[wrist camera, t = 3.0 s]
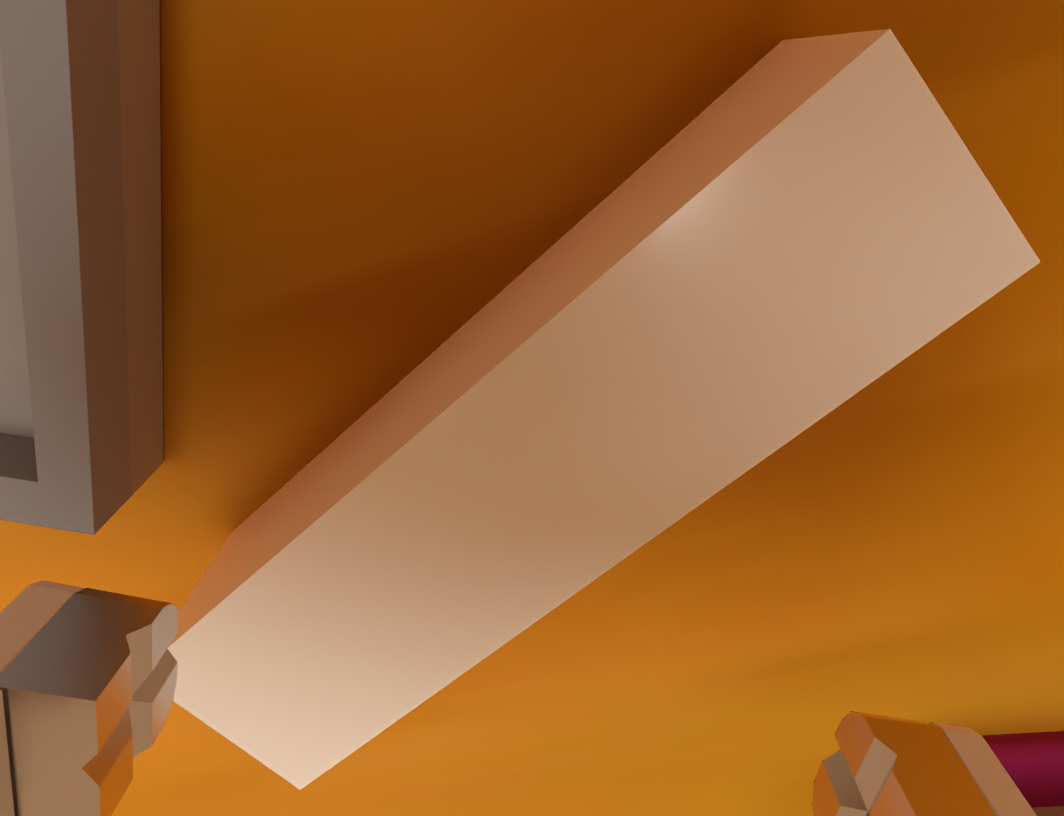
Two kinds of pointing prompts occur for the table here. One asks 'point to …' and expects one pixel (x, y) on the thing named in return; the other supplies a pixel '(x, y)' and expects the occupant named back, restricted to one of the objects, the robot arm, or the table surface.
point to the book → (1034, 767)
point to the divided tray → (79, 259)
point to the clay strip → (601, 398)
